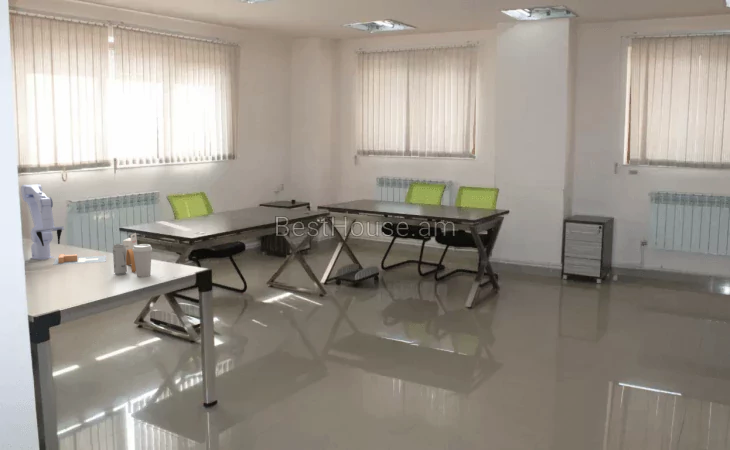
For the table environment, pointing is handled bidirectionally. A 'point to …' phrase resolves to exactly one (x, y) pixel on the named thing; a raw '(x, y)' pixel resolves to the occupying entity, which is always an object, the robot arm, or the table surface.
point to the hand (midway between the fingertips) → (51, 244)
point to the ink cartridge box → (130, 242)
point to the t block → (67, 258)
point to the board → (83, 260)
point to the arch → (130, 259)
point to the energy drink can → (119, 259)
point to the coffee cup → (142, 259)
